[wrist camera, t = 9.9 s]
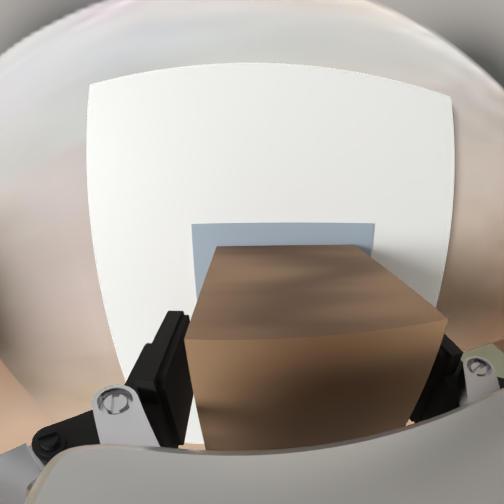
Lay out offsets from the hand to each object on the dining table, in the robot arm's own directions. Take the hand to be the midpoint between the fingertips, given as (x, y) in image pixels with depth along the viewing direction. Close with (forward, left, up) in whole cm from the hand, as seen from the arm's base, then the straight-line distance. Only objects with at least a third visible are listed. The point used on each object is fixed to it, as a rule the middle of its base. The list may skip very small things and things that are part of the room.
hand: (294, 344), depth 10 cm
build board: (0, 0, -4) cm, 4 cm away
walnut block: (0, 0, -3) cm, 3 cm away
